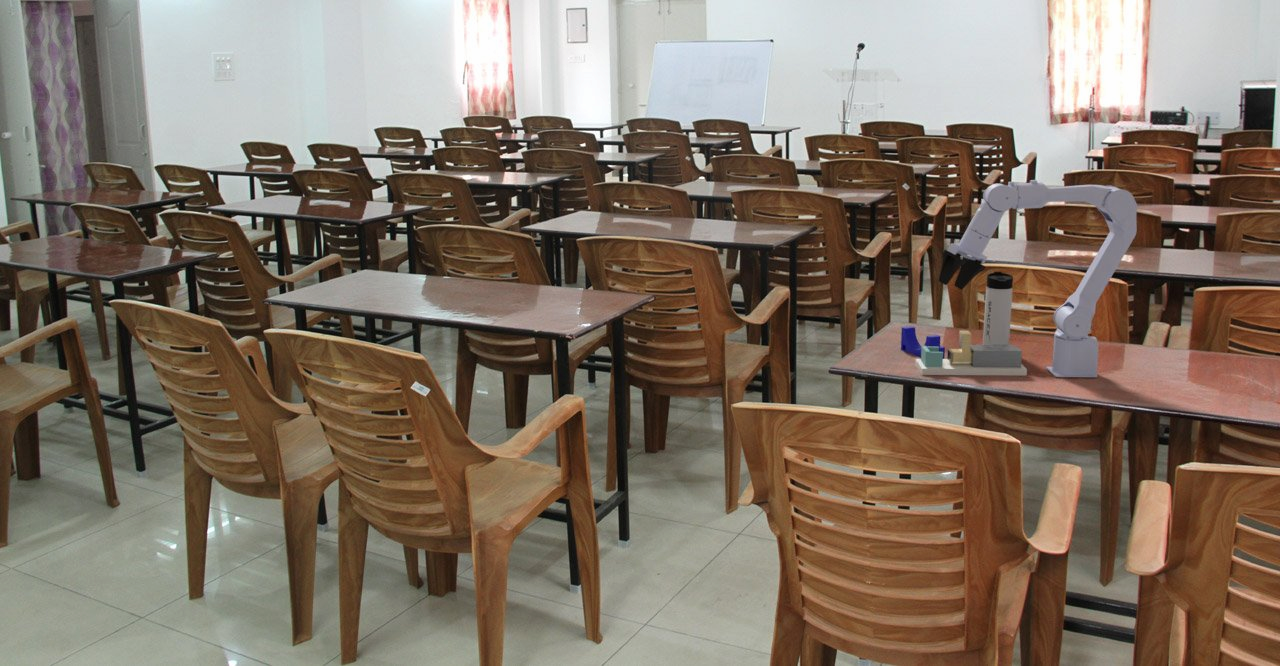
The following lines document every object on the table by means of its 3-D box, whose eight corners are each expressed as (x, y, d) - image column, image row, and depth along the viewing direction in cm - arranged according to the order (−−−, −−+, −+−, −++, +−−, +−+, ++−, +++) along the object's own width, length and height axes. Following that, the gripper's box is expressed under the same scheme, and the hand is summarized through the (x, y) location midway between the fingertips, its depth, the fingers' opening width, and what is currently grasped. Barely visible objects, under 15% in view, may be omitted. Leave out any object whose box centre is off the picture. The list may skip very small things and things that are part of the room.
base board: (1016, 365, 268) (1017, 359, 268) (1026, 375, 259) (1027, 369, 259) (915, 364, 270) (915, 358, 269) (921, 374, 261) (922, 368, 261)
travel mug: (1005, 348, 284) (1010, 271, 279) (1010, 355, 277) (1016, 276, 273) (979, 348, 284) (984, 271, 280) (985, 355, 278) (989, 276, 273)
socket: (937, 360, 267) (938, 345, 267) (942, 366, 262) (943, 351, 261) (920, 360, 268) (921, 345, 267) (925, 366, 262) (925, 351, 261)
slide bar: (1011, 359, 265) (1013, 330, 263) (1015, 363, 261) (1017, 334, 260) (947, 358, 266) (948, 330, 265) (950, 362, 263) (951, 334, 261)
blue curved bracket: (944, 359, 275) (945, 335, 274) (929, 361, 274) (930, 337, 272) (915, 348, 286) (916, 325, 285) (900, 350, 285) (901, 327, 283)
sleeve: (1014, 360, 266) (1015, 344, 265) (1020, 367, 260) (1022, 350, 260) (967, 360, 267) (968, 344, 266) (972, 367, 261) (973, 350, 260)
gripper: (980, 231, 263) (952, 282, 267) (950, 219, 253) (921, 273, 256) (1004, 243, 259) (975, 295, 262) (974, 232, 248) (945, 286, 252)
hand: (950, 285), depth 259 cm, fingers open, 7 cm apart
